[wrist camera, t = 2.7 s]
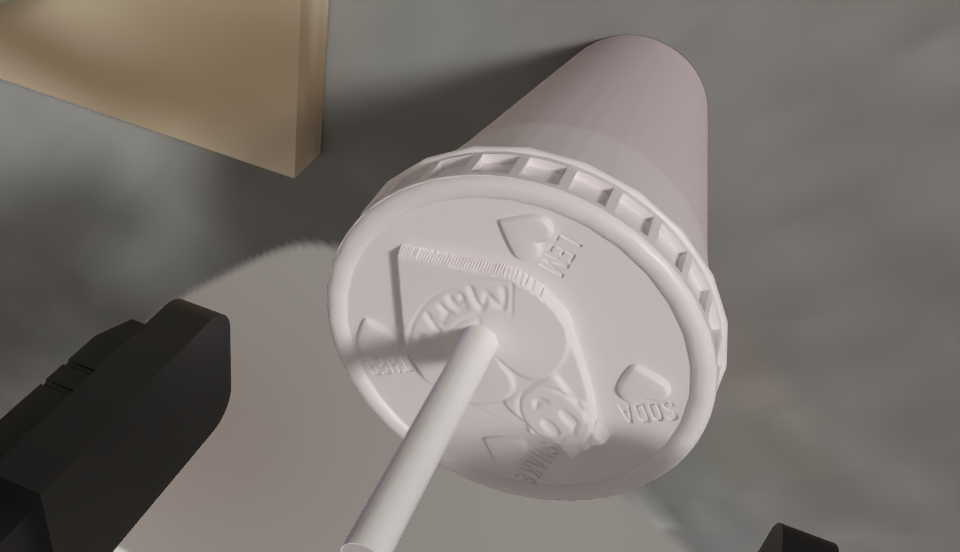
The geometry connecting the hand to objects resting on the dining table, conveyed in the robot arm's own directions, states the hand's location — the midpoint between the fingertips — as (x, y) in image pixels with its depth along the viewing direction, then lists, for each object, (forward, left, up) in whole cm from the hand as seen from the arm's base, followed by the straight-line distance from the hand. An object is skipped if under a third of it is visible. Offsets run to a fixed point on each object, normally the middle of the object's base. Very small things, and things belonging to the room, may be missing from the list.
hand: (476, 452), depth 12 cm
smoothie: (0, 0, -12) cm, 12 cm away
